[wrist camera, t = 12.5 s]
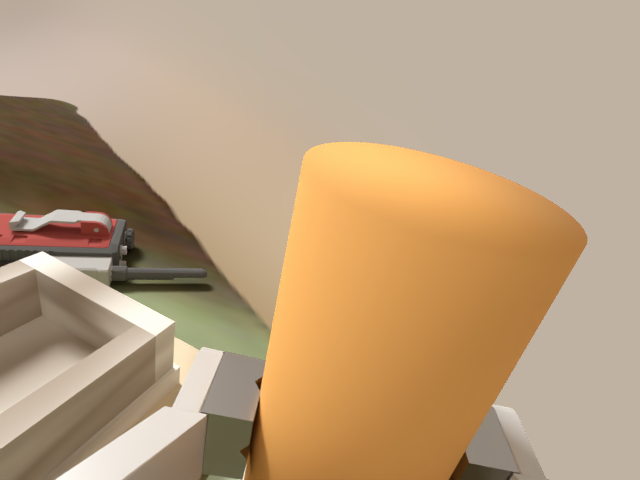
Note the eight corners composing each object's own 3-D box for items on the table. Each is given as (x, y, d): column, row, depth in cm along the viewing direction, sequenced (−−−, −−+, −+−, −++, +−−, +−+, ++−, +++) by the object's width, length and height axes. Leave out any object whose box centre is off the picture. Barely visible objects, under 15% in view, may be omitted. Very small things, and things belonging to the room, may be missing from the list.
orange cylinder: (389, 584, 12) (610, 211, 6) (302, 764, 9) (594, 331, 3) (284, 485, 14) (380, 131, 8) (181, 602, 11) (220, 153, 5)
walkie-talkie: (-71, 294, 30) (206, 293, 36) (-87, 243, 28) (209, 252, 34) (-20, 236, 37) (203, 244, 44) (-30, 192, 35) (206, 208, 42)
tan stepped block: (227, 476, 22) (252, 316, 17) (-12, 811, 12) (-138, 676, 7) (75, 377, 26) (56, 219, 20) (-211, 575, 16) (-397, 362, 10)
